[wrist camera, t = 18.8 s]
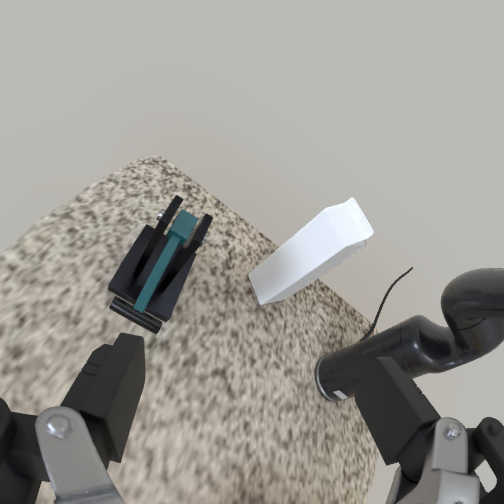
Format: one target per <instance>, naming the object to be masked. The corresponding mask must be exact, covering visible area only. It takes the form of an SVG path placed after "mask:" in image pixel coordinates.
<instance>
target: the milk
mask: <svg viewBox="0 0 504 504" xmlns="http://www.w3.org/2000/svg"><path fill="white" fill-rule="evenodd" d="M373 233H374V231H373V229H372V228H371V226H370V224H369V223H368V220H367V219H366V217H365V216H364V214H363V212H362V210H361V209H360V207H359V205H358V204H357V202H356V201H355V199H354V198H353V197H352V198H350V199H349V200H348V201H346V202H345V203H342V204H338V205H335V206H331V207H327V208H325V209H324V210H323V211H321V212H320V213H319V214H318V215H317V216H316V217H314V218H313V219H312V220H311V221H310V222H309V223H308V224H306V225H305V226H304V227H303V228H302V229H300V230H299V231H298V232H297V233H296V234H295V235H293V236H292V237H291V238H290V239H289V240H287V241H286V242H285V243H284V244H283V245H282V246H280V247H279V248H278V249H277V250H276V251H274V252H273V253H272V254H271V255H270V256H269V257H267V258H266V259H265V260H264V261H263V262H261V263H260V264H259V265H258V266H257V267H256V268H254V269H253V270H252V271H251V272H250V273H248V276H249V279H250V281H251V284H252V286H253V289H254V291H255V294H256V296H257V299H258V301H259V304H260V305H265V304H269V303H273V302H278V301H282V300H285V299H287V298H288V297H290V296H291V295H293V294H294V293H296V292H298V291H299V290H301V289H302V288H304V287H305V286H307V285H308V284H310V283H311V282H313V281H315V280H316V279H318V278H319V277H321V276H322V275H324V274H325V273H327V272H328V271H329V270H331V269H333V268H334V267H335V266H337V265H338V264H340V263H341V262H343V261H344V260H346V259H347V258H348V257H350V256H351V255H353V254H354V253H356V252H357V251H358V250H360V249H362V248H363V247H364V246H366V239H367V238H369V237H370V236H371V235H373Z"/></svg>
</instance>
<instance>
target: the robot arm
mask: <svg viewBox="0 0 504 504" xmlns="http://www.w3.org/2000/svg"><path fill="white" fill-rule="evenodd" d="M412 269H413V268H410V269H409V270H408V271H407V272H406V273H404V274H403V275H401V276H400V277H399V278H398V279H397V280H396V281H395V282H394V283H393V284H392V285H391V287H390V288H389V289H388V291H387V293H386V295H385V297H384V299H383V301H382V303H381V305H380V308H379V310H378V313H377V315H376V318H375V320H374V323H373V326H372V328H371V330H370V331H369V332H368V334H367V335H365V336H364V337H363V338H362V339H361V340H360V341H359V342H358V343H356V344H353V345H351V346H349V347H346V348H344V349H341V350H338V351H336V352H333V353H330V354H327V355H324V356H323V357H321V358H320V359H319V361H318V363H317V366H316V370H315V378H316V383H317V387H318V389H319V391H320V393H321V394H322V395H323V396H324V397H325V398H326V399H327V400H329V401H332V402H337V401H341V400H344V399H348V398H352V397H355V402H356V404H357V406H358V408H359V410H360V412H361V414H362V416H363V418H364V420H365V422H366V424H367V426H368V429H369V431H370V433H371V435H372V437H373V439H374V441H375V443H376V445H377V447H378V449H379V451H380V453H381V455H382V458H383V460H384V462H385V464H386V465H390V464H394V463H397V462H399V464H400V466H399V467H398V468H397V470H396V472H395V476H394V479H393V483H392V486H391V489H390V493H389V495H388V498H387V501H386V504H504V426H503V425H502V424H501V423H500V422H499V421H498V420H497V419H495V418H491V417H486V418H484V419H483V420H482V421H481V422H480V424H479V425H478V426H477V428H467V429H466V428H465V427H464V425H463V424H462V423H461V422H459V421H458V420H456V419H454V418H450V417H445V418H441V417H440V415H439V414H438V413H437V411H436V410H435V409H434V407H433V406H432V405H431V403H430V402H429V401H428V399H427V398H426V397H425V395H424V394H422V391H421V390H420V389H419V387H417V385H416V383H415V382H414V381H413V378H416V377H419V376H422V375H424V374H427V373H441V372H445V371H447V370H450V369H453V368H455V367H458V366H461V365H463V364H466V363H468V362H471V361H473V360H476V359H478V358H480V357H482V356H484V355H486V354H488V353H489V352H491V351H492V350H494V349H495V348H497V347H498V346H499V345H500V344H501V343H502V342H503V341H504V268H482V269H476V270H472V271H469V272H466V273H463V274H461V275H459V276H458V277H456V278H455V279H453V280H452V281H451V282H450V283H449V284H448V285H447V286H446V288H445V289H444V291H443V294H442V296H441V309H442V312H443V315H444V318H445V320H446V322H447V324H448V326H449V327H443V326H439V325H437V324H435V323H433V322H432V321H430V320H429V319H427V318H426V317H424V316H422V315H416V316H413V317H411V318H409V319H407V320H405V321H403V322H401V323H399V324H397V325H395V326H393V327H391V328H389V329H387V330H385V331H383V332H381V333H378V334H376V335H374V336H372V337H370V338H368V337H369V336H370V335H371V333H372V332H373V330H374V328H375V326H376V323H377V320H378V317H379V314H380V312H381V309H382V307H383V304H384V302H385V300H386V298H387V296H388V294H389V292H390V290H391V289H392V287H393V286H394V285H395V284H396V282H397V281H398V280H400V279H401V278H402V277H403V276H405V275H406V274H407V273H409V272H410V271H411V270H412ZM366 338H367V339H366ZM144 383H145V352H144V338H143V337H141V336H136V335H131V334H127V333H120V334H119V336H118V338H117V339H116V341H115V343H114V344H113V346H112V345H108V344H103V345H102V346H100V347H99V348H97V349H96V350H94V351H93V352H92V354H91V355H90V357H89V359H88V360H87V363H86V364H85V365H84V367H83V368H82V370H81V372H80V373H79V375H78V376H77V378H76V380H75V381H74V383H73V385H72V386H71V388H70V390H69V391H68V393H67V395H66V396H65V398H64V400H63V402H62V403H61V405H60V406H54V407H50V408H47V409H46V410H44V411H43V412H41V413H40V414H39V416H35V415H28V414H22V413H16V412H11V411H10V409H9V407H8V405H7V403H6V402H5V401H4V400H3V399H2V398H0V504H35V502H36V499H37V495H38V492H39V488H40V485H41V482H42V481H46V482H51V484H52V487H53V490H54V492H55V496H56V500H54V504H125V502H124V501H123V499H122V497H121V496H120V494H119V492H118V491H117V489H116V487H115V486H114V484H113V482H112V480H111V478H110V476H109V475H108V473H107V469H108V465H109V462H110V460H111V461H115V462H118V463H121V460H122V456H123V453H124V449H125V446H126V442H127V439H128V435H129V432H130V429H131V425H132V422H133V419H134V416H135V413H136V409H137V406H138V403H139V400H140V397H141V394H142V391H143V388H144ZM485 459H486V461H487V462H488V464H489V465H490V467H491V469H492V471H493V472H494V474H495V476H496V478H497V484H496V486H495V488H494V489H493V490H491V491H490V492H489V493H488V492H486V491H485V489H484V487H483V485H482V483H481V482H480V479H479V476H477V475H476V473H475V471H474V470H475V469H476V468H477V467H478V466H479V465H480V464H481V463H482V462H483V461H484V460H485Z"/></svg>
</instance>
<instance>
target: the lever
mask: <svg viewBox="0 0 504 504" xmlns="http://www.w3.org/2000/svg"><path fill="white" fill-rule="evenodd" d="M197 221H198V218H196V217H194V216H193V215H191V214H189V213H188V212H186V211H185V210H183V209H182V210H181V211H180V213H179V214H178V216H177V218H176V219H175V221H174V223H173V224H172V226H171V228H170V229H169V231H168V233H167V235H166V236H167V237H169V238H170V239H169V241H168V243H167V245H166V246H165V248H164V250H163V252H162V254H161V255H160V257H159V259H158V261H157V263H156V265H155V266H154V268H153V270H152V272H151V274H150V276H149V278H148V280H147V282H146V284H145V285H144V287H143V289H142V291H141V293H140V295H139V297H138V299H137V301H136V303H135V305H134V306H132V305H130V304H128V303H127V302H125V301H123V300H121V299H120V298H118V297H116V296H115V297H114V299H113V301H112V303H111V305H110V307H109V308H110V309H111V310H113V311H114V312H116V313H118V314H120V315H121V316H123V317H125V318H127V319H128V320H130V321H132V322H134V323H136V324H138V325H139V326H141V327H143V328H145V329H147V330H149V331H151V332H153V333H155V334H157V333H158V332H159V330H160V328H161V325H162V322H161V321H159V320H157V319H155V318H154V317H152V316H150V315H148V314H146V313H144V310H145V308H146V306H147V304H148V302H149V300H150V298H151V296H152V294H153V292H154V290H155V288H156V286H157V284H158V282H159V280H160V278H161V276H162V274H163V272H164V270H165V269H166V267H167V265H168V263H169V261H170V259H171V257H172V255H173V253H174V252H175V250H176V248H177V246H178V244H180V245H183V244H184V243H185V242H186V240H187V239H188V238H189V236H190V234H191V232H192V230H193V228H194V227H195V225H196V223H197Z"/></svg>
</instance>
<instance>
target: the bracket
mask: <svg viewBox="0 0 504 504" xmlns="http://www.w3.org/2000/svg"><path fill="white" fill-rule="evenodd" d="M182 201H183V199H182V198H181V197H179V196H177V195H176V196H175V198H174V199H173V201H172V202H171V204H170V205H169V207H168V208H167V210H164V209H162V210H161V212H160V213H159V215H158V217H157V220H158V221H159V223H158V224H157V226H156V228H155V229H154V228H152V227H151V226H149V225H147V224H146V226H145V227H144V229H143V230H142V232H141V233H140V235H139V236H138V238H137V240H136V241H135V243H134V244H133V246H132V247H131V249H130V251H129V252H128V254H127V255H126V257H125V259H124V260H123V262H122V264H121V265H120V267H119V269H118V270H117V272H116V274H115V275H114V277H113V279H112V280H111V282H110V284H109V286H108V290H110V291H111V292H113V293H115V294H116V295H118V296H120V297H121V298H123V299H125V300H127V301H128V302H130V303H132V304H134V305H135V303H136V301H137V299H138V297H139V295H140V293H141V291H142V289H143V287H144V285H145V284H146V282H147V280H148V278H149V276H150V274H151V272H152V270H153V268H154V266H155V265H156V263H157V261H158V259H159V257H160V255H161V254H162V252H163V250H164V248H165V246H166V245H167V243H168V241H169V239H170V238H169V237H167V236H165V235H164V234H163V233H164V231H165V230H166V228H167V226H168V225H169V223H170V221H171V220H172V218H173V216H174V215H175V213H176V211H177V210H178V208H179V206H180V205H181V203H182ZM212 219H213V217H211V216H210V215H208V214H207V213H206V214H205V215H204V216H203V218H202V219H201V221H200V222H199V223H198V225H197V226H196V227H195V229H194V230H193V232H192V233H191V234H190V236H189V238H188V239H187V240H186V242H185V243H184V244H183V246H182V245H180V244H178V246H177V248H176V250H175V252H174V253H173V255H172V257H171V259H170V261H169V263H168V265H167V267H166V269H165V270H164V272H163V274H162V276H161V278H160V280H159V282H158V284H157V286H156V288H155V290H154V292H153V294H152V296H151V298H150V300H149V302H148V304H147V306H146V308H145V310H144V311H146V312H148V313H150V314H152V315H154V316H155V317H157V318H159V319H161V320H163V321H165V322H167V321H168V320H169V319H170V316H171V314H172V311H173V309H174V306H175V304H176V301H177V299H178V297H179V294H180V292H181V289H182V287H183V284H184V282H185V280H186V277H187V275H188V273H189V270H190V268H191V266H192V263H193V261H194V259H195V256H196V253H195V251H196V250H197V249H198V248H199V246H202V245H203V244H204V243H205V241H206V239H207V235H206V233H207V230H208V228H209V226H210V224H211V222H212Z"/></svg>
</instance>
